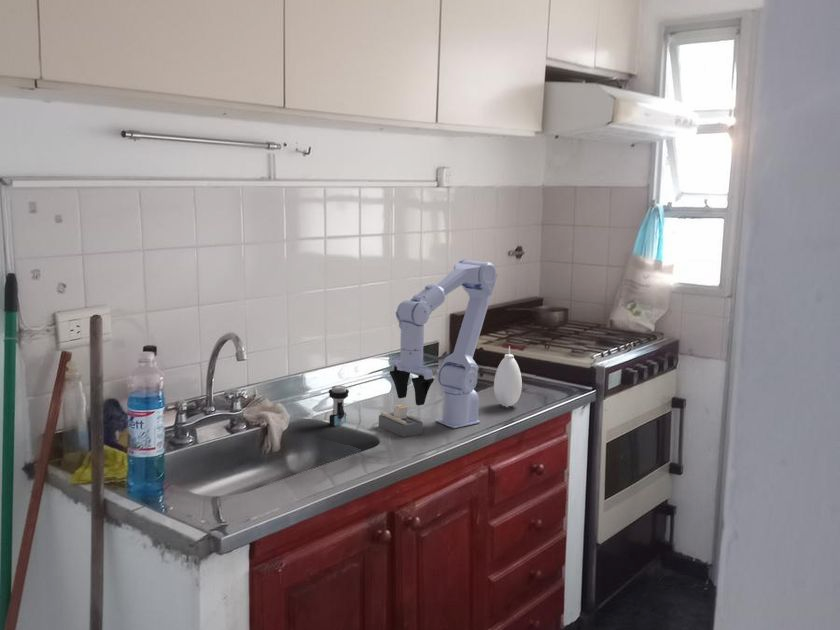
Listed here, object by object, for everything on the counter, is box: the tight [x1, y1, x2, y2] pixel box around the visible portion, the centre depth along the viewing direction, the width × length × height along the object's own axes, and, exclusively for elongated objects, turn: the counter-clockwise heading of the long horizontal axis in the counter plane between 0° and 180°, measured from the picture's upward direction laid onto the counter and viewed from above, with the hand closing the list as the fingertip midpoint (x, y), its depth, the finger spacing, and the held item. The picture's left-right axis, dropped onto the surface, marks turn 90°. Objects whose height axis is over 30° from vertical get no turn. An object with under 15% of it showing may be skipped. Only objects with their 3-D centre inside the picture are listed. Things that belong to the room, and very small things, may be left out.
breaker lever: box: [393, 404, 408, 419], centre depth 212 cm, size 2×2×3 cm
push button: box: [328, 385, 350, 427], centre depth 216 cm, size 7×5×10 cm
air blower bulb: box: [493, 345, 523, 407], centre depth 235 cm, size 8×8×18 cm
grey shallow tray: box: [378, 411, 424, 438], centre depth 212 cm, size 6×11×4 cm, turn 38°
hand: (411, 401), depth 205 cm, fingers open, 7 cm apart
